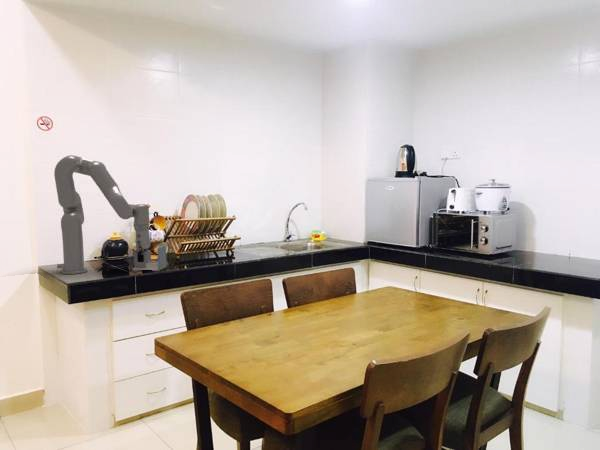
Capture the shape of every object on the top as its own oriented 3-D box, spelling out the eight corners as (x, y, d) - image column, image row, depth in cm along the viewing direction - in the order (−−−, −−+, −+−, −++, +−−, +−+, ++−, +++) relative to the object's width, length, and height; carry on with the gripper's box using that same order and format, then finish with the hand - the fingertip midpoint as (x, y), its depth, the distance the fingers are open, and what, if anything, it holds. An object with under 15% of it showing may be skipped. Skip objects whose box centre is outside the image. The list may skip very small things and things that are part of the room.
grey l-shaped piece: (132, 270, 262) (131, 247, 261) (139, 266, 273) (138, 244, 271) (160, 270, 261) (159, 248, 260) (166, 266, 272) (166, 245, 271)
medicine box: (151, 265, 269) (150, 250, 268) (148, 267, 265) (148, 251, 264) (137, 265, 269) (136, 250, 268) (134, 267, 265) (133, 251, 264)
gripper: (143, 229, 256) (144, 263, 258) (154, 225, 273) (155, 258, 275) (128, 229, 256) (130, 263, 258) (140, 225, 274) (141, 258, 275)
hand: (143, 260), depth 267 cm, fingers open, 6 cm apart
